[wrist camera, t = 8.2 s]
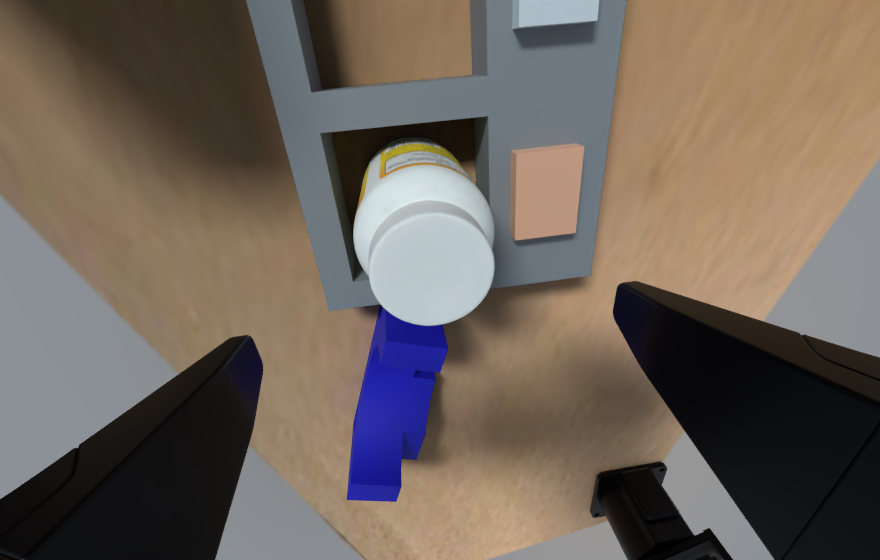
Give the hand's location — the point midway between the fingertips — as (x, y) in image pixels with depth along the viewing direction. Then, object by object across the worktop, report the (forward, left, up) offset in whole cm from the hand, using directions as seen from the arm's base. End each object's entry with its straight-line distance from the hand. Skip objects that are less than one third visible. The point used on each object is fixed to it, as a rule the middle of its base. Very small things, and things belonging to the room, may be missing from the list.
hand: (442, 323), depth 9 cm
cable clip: (-12, +2, -13) cm, 18 cm away
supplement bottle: (0, 0, -13) cm, 13 cm away
